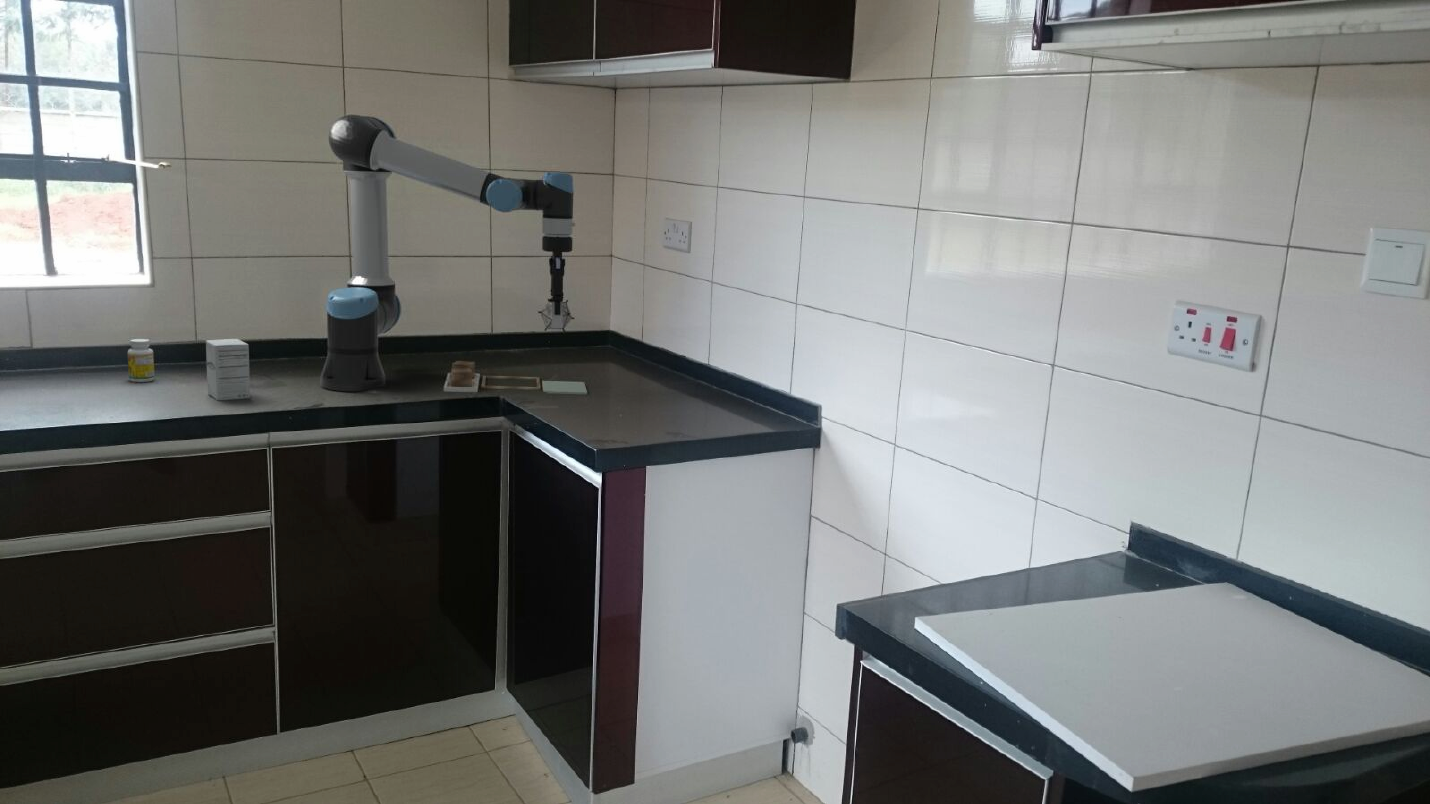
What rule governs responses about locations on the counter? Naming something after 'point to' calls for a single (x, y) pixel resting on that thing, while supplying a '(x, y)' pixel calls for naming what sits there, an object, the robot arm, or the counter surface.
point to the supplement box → (228, 369)
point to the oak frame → (511, 387)
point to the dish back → (477, 378)
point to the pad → (564, 387)
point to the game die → (547, 315)
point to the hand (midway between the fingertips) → (556, 324)
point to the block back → (465, 366)
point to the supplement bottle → (140, 361)
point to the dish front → (461, 389)
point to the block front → (461, 378)
